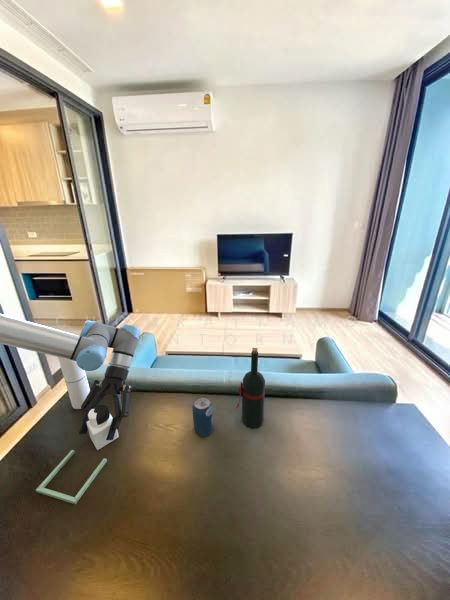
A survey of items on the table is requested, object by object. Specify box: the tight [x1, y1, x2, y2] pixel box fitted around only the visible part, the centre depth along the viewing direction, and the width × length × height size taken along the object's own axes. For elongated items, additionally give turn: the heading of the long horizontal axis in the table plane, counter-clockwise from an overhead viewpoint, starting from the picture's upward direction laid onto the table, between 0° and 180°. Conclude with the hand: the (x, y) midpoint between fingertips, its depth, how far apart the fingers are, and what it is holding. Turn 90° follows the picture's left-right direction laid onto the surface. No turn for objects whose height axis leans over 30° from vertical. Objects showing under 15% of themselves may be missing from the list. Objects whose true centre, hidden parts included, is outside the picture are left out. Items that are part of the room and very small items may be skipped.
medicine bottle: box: [86, 404, 120, 451], centre depth 83 cm, size 7×7×12 cm
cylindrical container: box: [57, 357, 91, 410], centre depth 96 cm, size 7×7×25 cm
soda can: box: [191, 396, 214, 437], centre depth 86 cm, size 7×7×12 cm
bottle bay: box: [35, 449, 108, 505], centre depth 73 cm, size 13×12×1 cm
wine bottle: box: [235, 347, 266, 430], centre depth 86 cm, size 8×10×30 cm
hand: (96, 436), depth 81 cm, fingers closed on medicine bottle, 9 cm apart
